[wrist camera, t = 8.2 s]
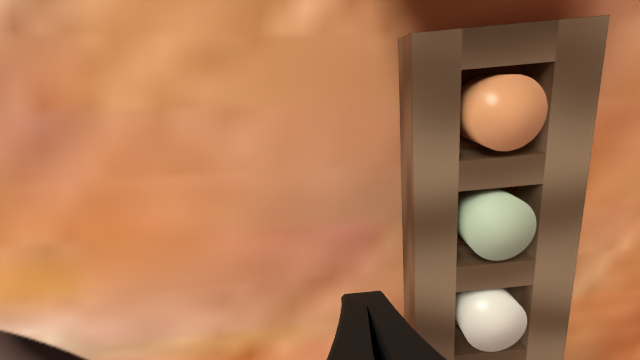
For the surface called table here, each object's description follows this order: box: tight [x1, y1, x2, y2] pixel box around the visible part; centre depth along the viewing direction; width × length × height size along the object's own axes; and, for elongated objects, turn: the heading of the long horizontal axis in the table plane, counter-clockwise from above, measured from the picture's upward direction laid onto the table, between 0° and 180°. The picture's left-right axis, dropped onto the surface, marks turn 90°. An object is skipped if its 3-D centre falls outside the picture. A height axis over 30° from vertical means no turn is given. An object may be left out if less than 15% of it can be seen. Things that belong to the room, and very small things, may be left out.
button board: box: [398, 15, 610, 360], centre depth 20 cm, size 20×9×2 cm, turn 5°
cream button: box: [455, 288, 527, 352], centre depth 21 cm, size 4×4×2 cm
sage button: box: [457, 188, 536, 261], centre depth 19 cm, size 4×4×2 cm
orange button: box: [460, 74, 548, 151], centre depth 18 cm, size 4×4×2 cm
